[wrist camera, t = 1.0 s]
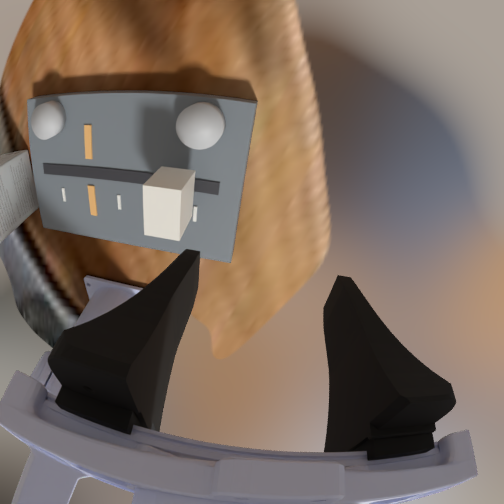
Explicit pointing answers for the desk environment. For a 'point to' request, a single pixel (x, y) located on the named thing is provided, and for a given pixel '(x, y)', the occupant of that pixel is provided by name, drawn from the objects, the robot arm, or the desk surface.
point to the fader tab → (168, 202)
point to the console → (140, 163)
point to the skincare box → (16, 191)
